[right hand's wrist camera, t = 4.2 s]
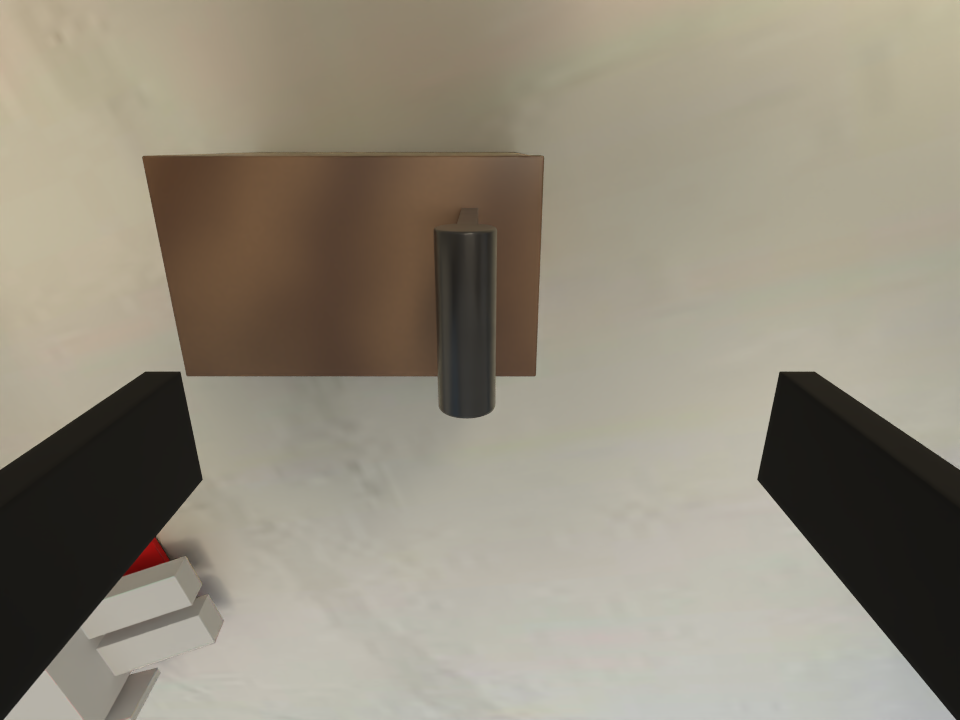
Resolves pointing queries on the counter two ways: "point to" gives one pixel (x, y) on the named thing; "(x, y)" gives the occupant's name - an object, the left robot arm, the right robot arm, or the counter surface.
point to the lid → (354, 266)
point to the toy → (125, 644)
